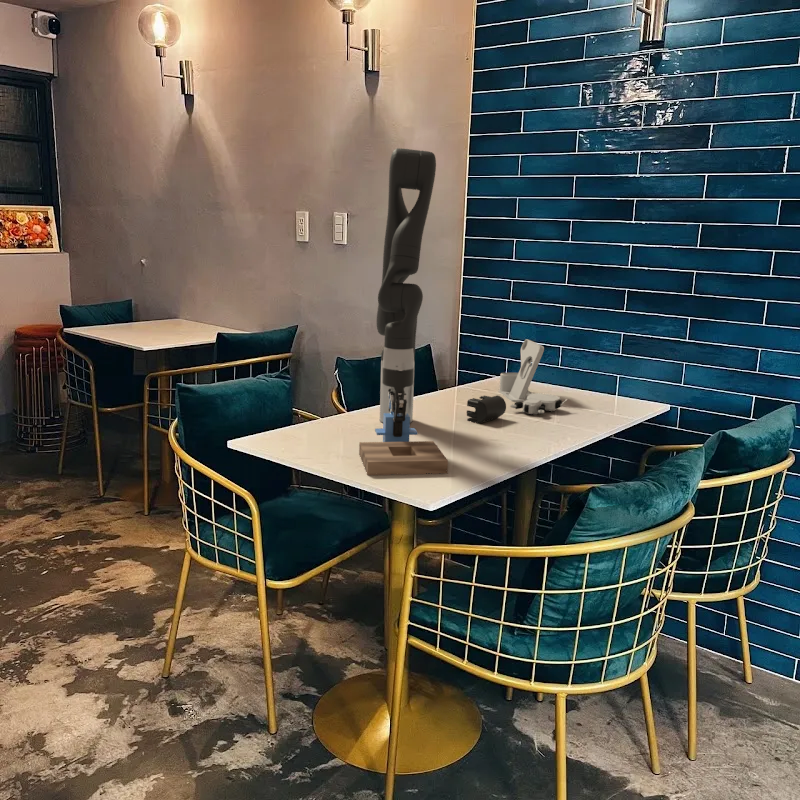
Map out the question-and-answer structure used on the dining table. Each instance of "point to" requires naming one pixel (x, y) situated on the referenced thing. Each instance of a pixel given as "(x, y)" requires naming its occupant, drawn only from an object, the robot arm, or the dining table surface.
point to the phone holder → (521, 373)
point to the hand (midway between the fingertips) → (396, 433)
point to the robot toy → (539, 403)
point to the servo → (388, 429)
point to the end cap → (486, 408)
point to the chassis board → (402, 458)
